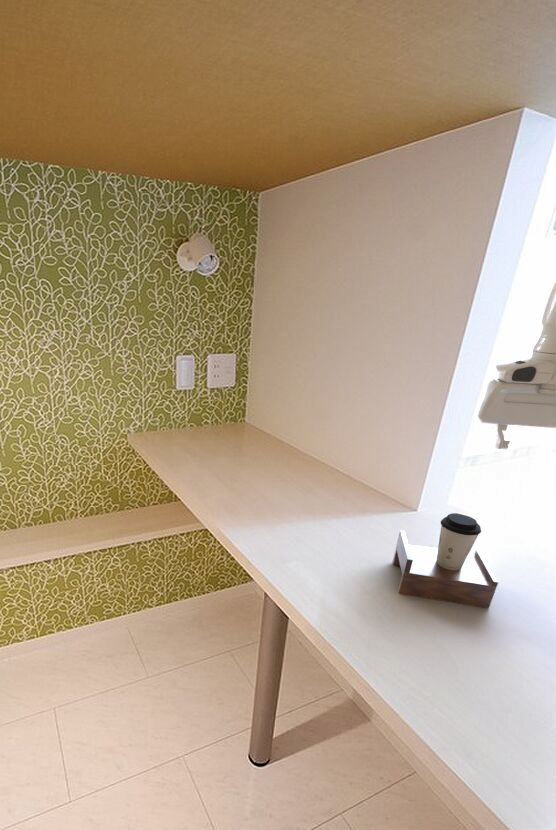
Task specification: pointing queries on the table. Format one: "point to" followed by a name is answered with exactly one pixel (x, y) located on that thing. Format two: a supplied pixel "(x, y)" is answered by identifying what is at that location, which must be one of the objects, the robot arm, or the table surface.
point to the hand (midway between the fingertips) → (530, 450)
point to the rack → (443, 576)
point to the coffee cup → (456, 540)
